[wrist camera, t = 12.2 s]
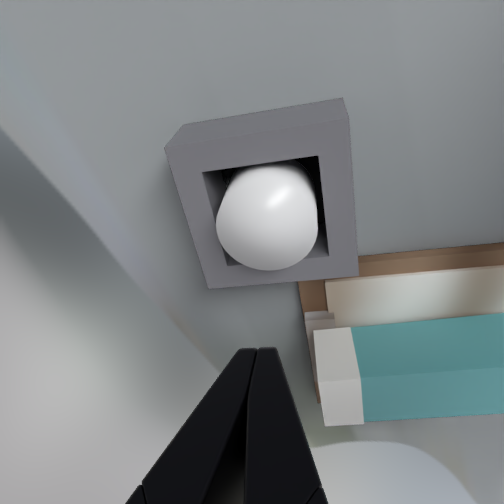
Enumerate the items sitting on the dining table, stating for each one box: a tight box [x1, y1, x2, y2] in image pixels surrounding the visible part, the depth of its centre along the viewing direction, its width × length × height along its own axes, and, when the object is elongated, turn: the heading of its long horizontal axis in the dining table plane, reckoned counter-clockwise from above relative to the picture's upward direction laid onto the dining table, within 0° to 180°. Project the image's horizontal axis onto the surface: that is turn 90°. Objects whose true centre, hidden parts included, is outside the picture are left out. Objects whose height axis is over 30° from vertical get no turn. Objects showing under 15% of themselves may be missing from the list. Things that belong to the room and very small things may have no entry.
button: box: [216, 159, 318, 271], centre depth 17 cm, size 4×4×3 cm
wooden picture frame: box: [298, 242, 504, 403], centre depth 23 cm, size 15×11×1 cm
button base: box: [164, 98, 359, 289], centre depth 18 cm, size 7×7×3 cm
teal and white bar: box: [313, 313, 504, 426], centre depth 21 cm, size 12×4×4 cm, turn 101°
